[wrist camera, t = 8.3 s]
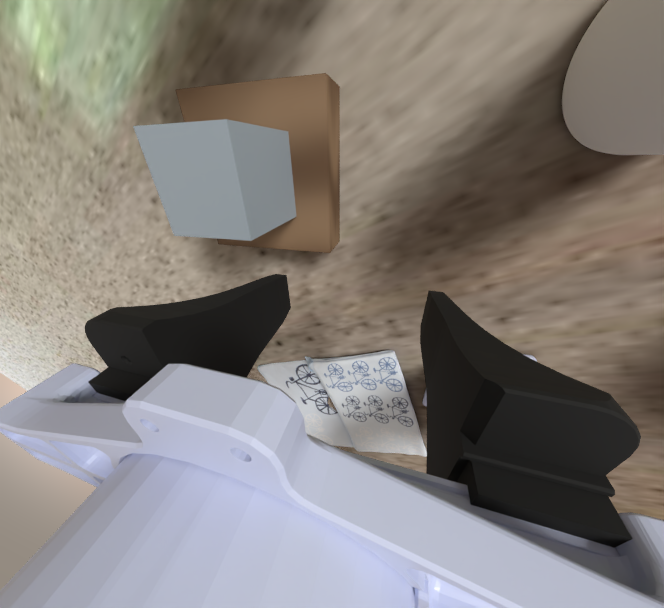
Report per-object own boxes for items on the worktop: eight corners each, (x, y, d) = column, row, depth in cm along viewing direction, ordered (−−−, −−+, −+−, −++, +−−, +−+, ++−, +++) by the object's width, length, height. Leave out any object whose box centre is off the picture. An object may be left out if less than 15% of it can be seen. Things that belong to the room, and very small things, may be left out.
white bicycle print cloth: (428, 447, 33) (429, 463, 31) (305, 437, 41) (300, 450, 39) (398, 342, 25) (397, 356, 23) (253, 356, 33) (244, 367, 31)
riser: (339, 241, 20) (329, 252, 18) (239, 234, 23) (218, 244, 20) (339, 86, 15) (325, 72, 13) (208, 98, 17) (175, 89, 15)
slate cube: (296, 216, 17) (251, 240, 12) (237, 214, 18) (174, 235, 13) (288, 131, 14) (226, 119, 10) (219, 135, 16) (133, 126, 11)
